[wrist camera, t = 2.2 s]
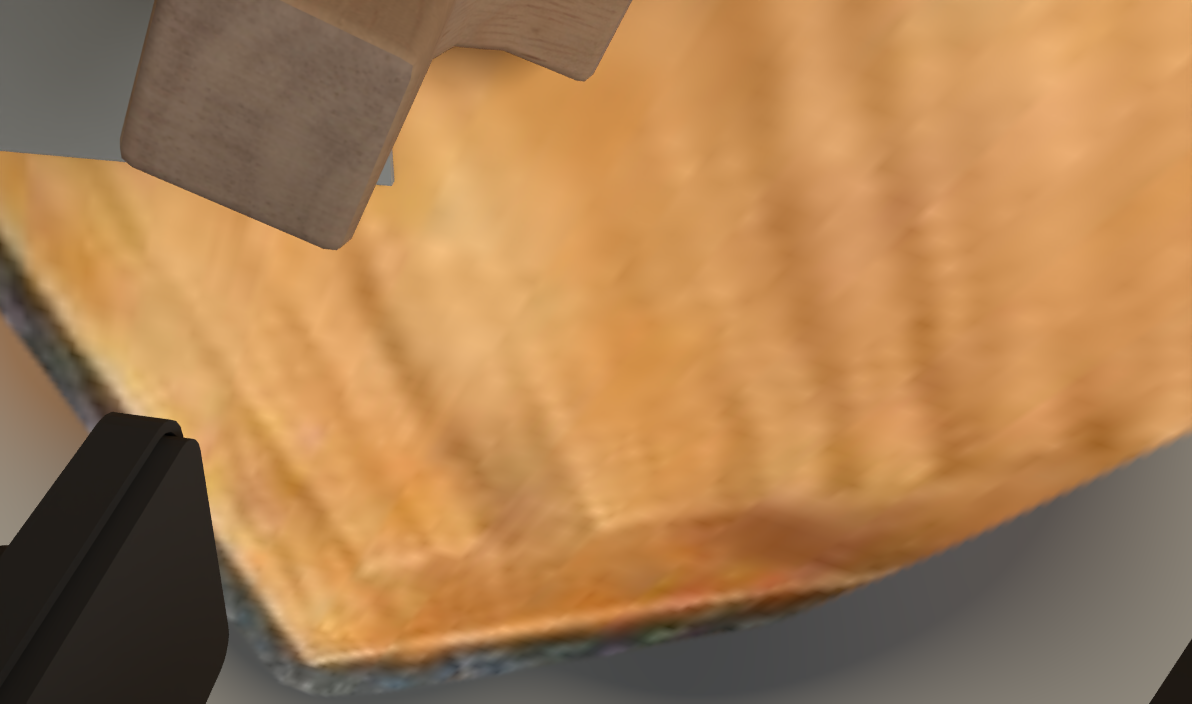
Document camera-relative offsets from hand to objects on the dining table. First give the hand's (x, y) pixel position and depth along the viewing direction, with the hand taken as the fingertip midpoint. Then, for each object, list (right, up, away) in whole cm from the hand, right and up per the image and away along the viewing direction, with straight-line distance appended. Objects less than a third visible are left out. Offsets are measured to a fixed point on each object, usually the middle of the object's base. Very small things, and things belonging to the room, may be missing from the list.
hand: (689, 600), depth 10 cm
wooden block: (-4, +16, +24) cm, 29 cm away
